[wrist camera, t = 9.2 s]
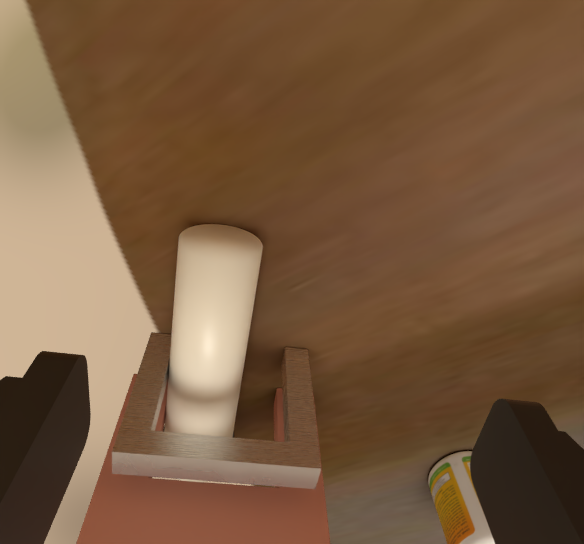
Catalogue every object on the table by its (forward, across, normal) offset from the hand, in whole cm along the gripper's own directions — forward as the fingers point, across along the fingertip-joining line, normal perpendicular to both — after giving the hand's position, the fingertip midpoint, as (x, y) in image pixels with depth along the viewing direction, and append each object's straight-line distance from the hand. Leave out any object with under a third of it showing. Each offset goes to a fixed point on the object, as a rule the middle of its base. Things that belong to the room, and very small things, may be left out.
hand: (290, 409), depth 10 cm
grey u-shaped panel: (+19, +2, +14) cm, 24 cm away
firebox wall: (+19, +2, +19) cm, 27 cm away
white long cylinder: (+19, +2, +13) cm, 23 cm away
